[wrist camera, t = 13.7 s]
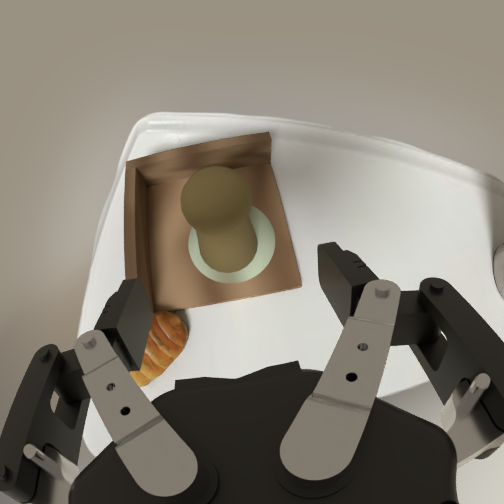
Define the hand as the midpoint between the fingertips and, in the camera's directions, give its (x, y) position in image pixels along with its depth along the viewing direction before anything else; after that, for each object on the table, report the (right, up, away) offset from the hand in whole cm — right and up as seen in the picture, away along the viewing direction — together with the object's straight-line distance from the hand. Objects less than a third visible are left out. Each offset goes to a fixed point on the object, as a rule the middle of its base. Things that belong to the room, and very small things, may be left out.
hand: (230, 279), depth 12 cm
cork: (-1, +2, +17) cm, 17 cm away
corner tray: (-3, +4, +18) cm, 19 cm away
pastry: (-10, -9, +15) cm, 20 cm away
